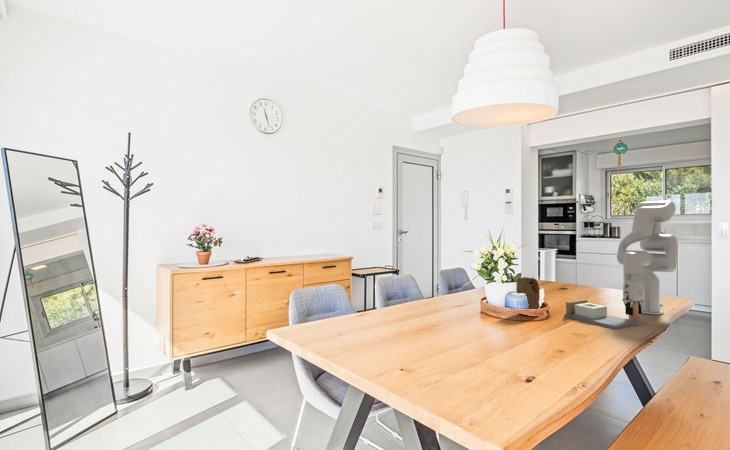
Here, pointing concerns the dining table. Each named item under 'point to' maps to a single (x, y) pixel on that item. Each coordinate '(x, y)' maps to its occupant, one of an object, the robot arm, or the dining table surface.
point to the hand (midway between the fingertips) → (633, 313)
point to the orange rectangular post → (635, 312)
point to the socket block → (590, 310)
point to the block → (529, 290)
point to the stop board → (603, 321)
